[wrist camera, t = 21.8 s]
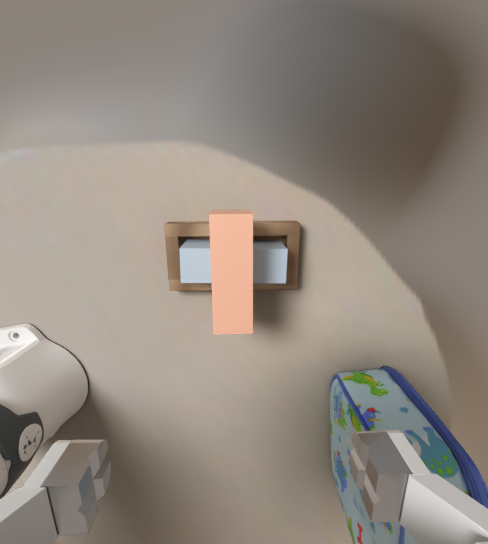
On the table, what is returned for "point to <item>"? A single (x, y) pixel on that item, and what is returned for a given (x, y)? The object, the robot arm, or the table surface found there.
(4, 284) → the table surface
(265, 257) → the pale blue upright slab
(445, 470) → the lunch box
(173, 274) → the jig
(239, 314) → the salmon orange rectangular block
